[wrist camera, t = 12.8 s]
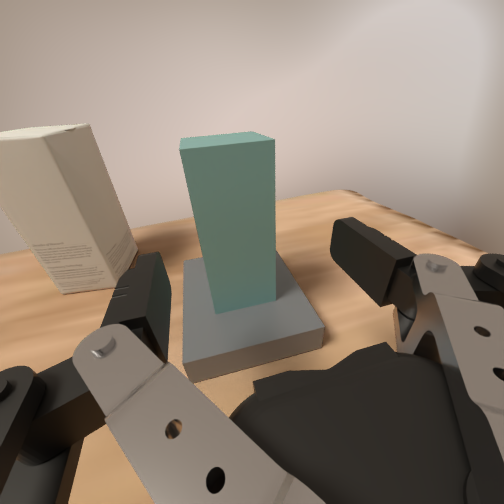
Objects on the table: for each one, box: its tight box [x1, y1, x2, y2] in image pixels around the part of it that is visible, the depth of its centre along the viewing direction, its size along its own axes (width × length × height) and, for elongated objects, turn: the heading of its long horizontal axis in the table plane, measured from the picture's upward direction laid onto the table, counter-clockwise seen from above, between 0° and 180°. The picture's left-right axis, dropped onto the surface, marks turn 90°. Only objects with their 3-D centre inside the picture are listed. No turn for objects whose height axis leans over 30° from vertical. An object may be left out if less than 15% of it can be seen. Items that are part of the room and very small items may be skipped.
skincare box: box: [0, 124, 138, 294], centre depth 24 cm, size 8×7×16 cm
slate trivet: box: [183, 251, 325, 383], centre depth 21 cm, size 10×12×2 cm
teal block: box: [179, 132, 276, 314], centre depth 17 cm, size 5×5×12 cm
